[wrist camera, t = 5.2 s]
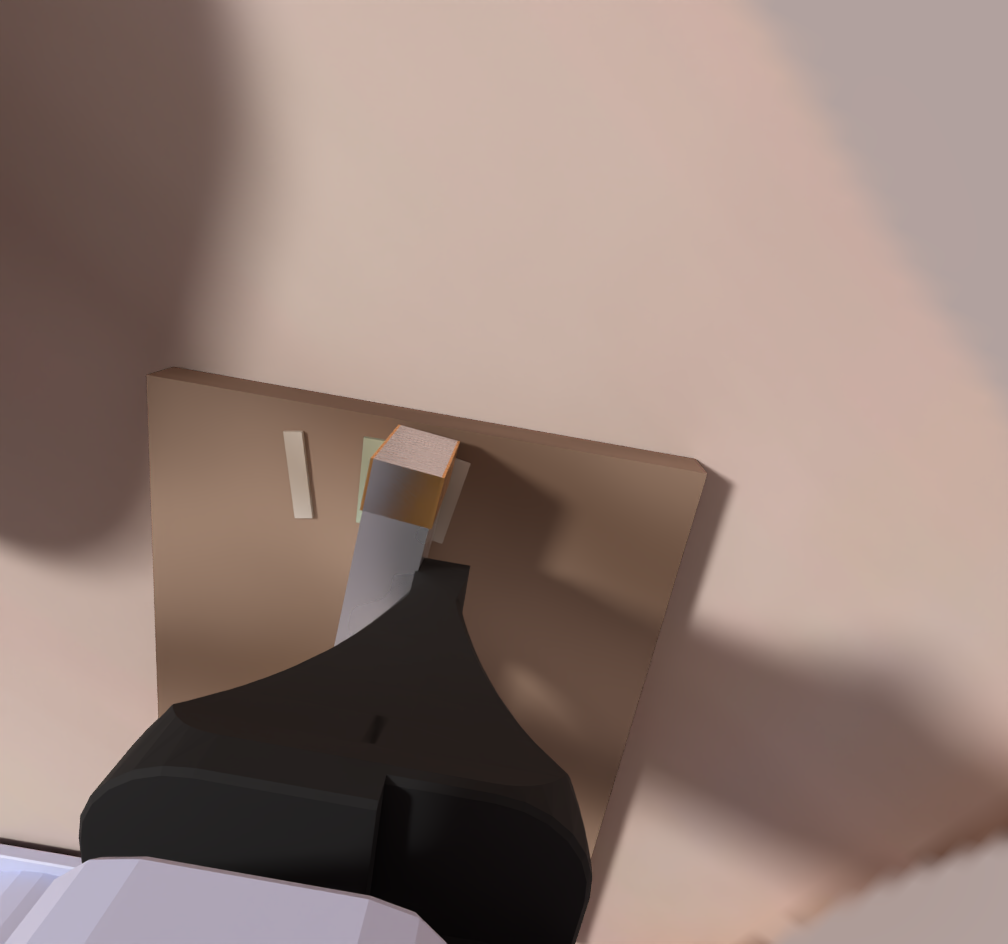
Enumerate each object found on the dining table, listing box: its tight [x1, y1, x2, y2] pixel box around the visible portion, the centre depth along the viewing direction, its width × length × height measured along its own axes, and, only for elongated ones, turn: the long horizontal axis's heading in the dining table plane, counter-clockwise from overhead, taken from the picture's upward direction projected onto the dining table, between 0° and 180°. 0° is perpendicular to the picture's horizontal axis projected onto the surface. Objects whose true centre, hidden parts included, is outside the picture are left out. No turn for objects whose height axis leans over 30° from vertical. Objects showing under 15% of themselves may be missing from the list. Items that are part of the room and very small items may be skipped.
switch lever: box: [334, 425, 460, 646], centre depth 14 cm, size 14×7×2 cm, turn 165°
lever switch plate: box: [146, 367, 707, 859], centre depth 16 cm, size 16×12×1 cm
